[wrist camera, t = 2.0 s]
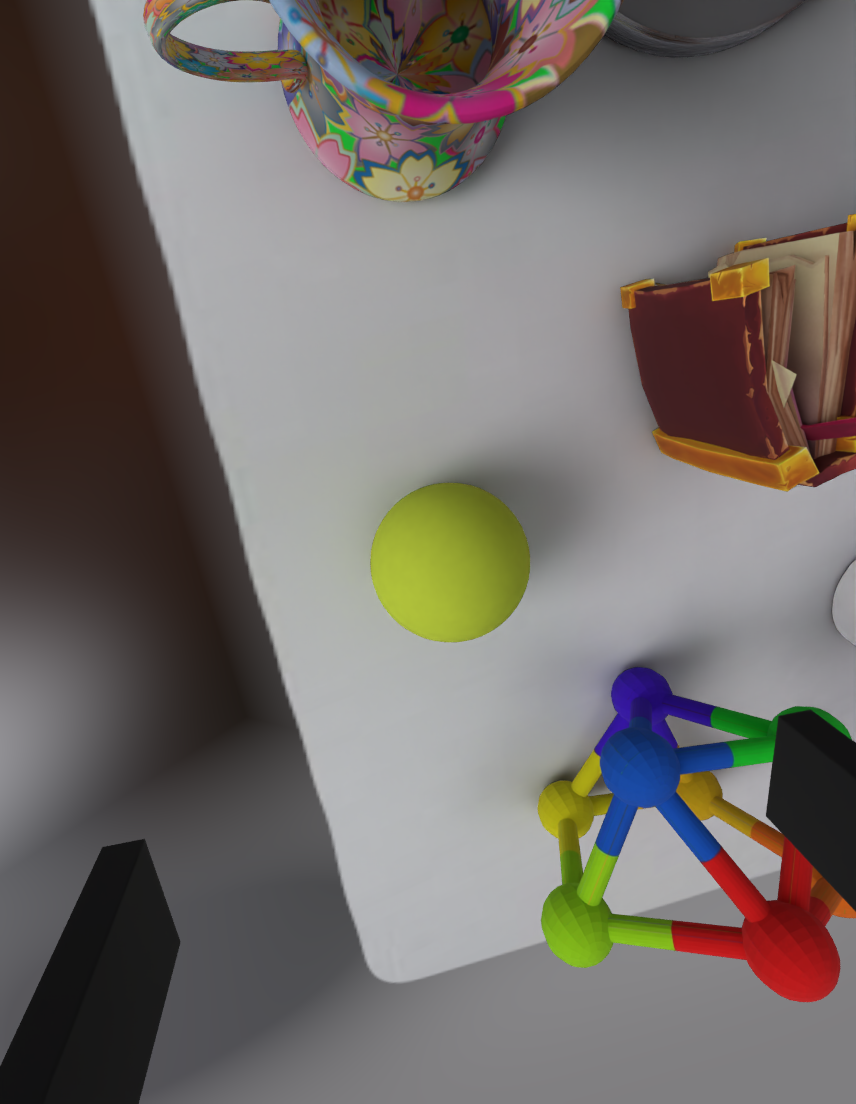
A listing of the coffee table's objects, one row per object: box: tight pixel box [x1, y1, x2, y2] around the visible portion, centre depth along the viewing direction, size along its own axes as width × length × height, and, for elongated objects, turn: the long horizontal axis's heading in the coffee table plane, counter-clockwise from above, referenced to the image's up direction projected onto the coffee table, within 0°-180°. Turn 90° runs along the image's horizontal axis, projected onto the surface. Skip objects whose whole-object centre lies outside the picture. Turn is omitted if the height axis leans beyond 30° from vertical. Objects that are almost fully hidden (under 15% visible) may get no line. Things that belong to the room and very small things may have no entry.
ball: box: [370, 483, 530, 642], centre depth 25 cm, size 7×7×7 cm
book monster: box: [620, 214, 856, 492], centre depth 23 cm, size 11×9×12 cm
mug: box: [143, 0, 624, 202], centre depth 17 cm, size 12×9×11 cm
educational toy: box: [538, 667, 856, 1002], centre depth 27 cm, size 16×13×15 cm
